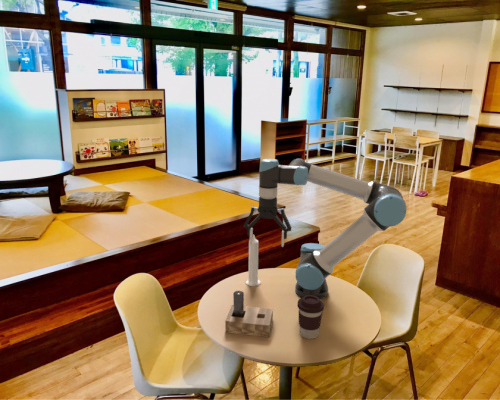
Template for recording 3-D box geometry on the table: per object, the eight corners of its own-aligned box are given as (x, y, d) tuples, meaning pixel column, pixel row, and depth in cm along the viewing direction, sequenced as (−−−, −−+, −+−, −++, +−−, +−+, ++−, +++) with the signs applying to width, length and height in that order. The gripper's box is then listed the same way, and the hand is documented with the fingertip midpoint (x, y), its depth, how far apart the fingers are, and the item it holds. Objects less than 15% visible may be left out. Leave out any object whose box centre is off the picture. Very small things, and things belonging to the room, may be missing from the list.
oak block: (272, 319, 172) (272, 309, 170) (268, 337, 160) (269, 325, 159) (231, 315, 174) (231, 304, 173) (225, 332, 163) (225, 320, 162)
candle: (258, 287, 198) (259, 237, 191) (244, 285, 200) (244, 236, 193) (261, 280, 205) (262, 232, 198) (247, 279, 206) (247, 231, 199)
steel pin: (244, 320, 169) (244, 291, 166) (242, 325, 166) (242, 296, 162) (234, 319, 170) (234, 290, 166) (232, 324, 166) (232, 295, 163)
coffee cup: (304, 323, 170) (306, 290, 165) (326, 333, 164) (329, 298, 159) (291, 334, 162) (292, 300, 158) (313, 344, 156) (315, 309, 152)
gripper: (298, 195, 175) (296, 243, 181) (240, 192, 179) (239, 239, 185) (297, 200, 168) (295, 250, 174) (236, 197, 172) (236, 245, 178)
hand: (266, 244), depth 179 cm, fingers open, 13 cm apart
